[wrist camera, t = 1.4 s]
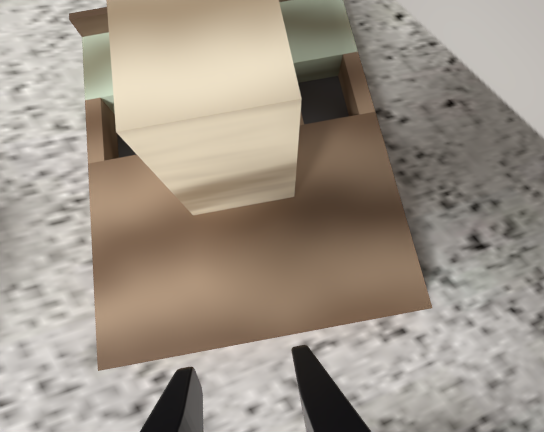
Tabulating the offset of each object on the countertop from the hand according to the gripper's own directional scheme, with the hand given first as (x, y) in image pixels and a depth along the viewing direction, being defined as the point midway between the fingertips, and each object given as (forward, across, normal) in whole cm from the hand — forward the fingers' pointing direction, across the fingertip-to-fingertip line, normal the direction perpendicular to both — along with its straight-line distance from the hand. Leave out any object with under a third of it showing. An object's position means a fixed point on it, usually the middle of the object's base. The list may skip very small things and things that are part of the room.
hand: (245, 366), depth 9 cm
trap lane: (+17, 0, +1) cm, 17 cm away
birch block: (+15, 0, 0) cm, 15 cm away
